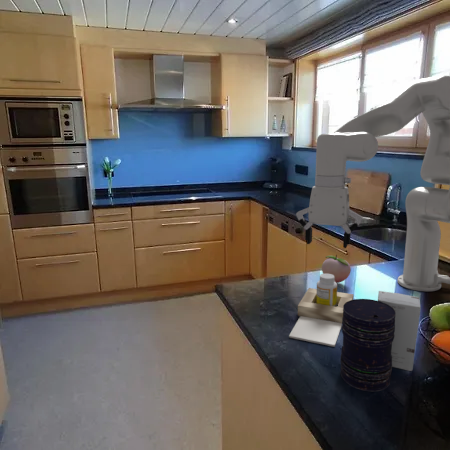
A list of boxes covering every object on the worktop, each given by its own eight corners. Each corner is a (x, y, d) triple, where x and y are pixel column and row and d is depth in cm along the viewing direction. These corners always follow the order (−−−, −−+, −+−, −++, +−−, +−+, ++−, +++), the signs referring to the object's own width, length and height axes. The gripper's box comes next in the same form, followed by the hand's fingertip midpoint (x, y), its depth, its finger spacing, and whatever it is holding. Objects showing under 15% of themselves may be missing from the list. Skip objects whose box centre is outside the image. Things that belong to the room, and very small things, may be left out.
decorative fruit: (315, 283, 124) (316, 254, 122) (329, 276, 130) (330, 249, 127) (340, 291, 117) (342, 261, 115) (354, 283, 123) (355, 255, 120)
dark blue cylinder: (332, 363, 81) (335, 300, 78) (376, 360, 82) (381, 297, 78) (351, 393, 71) (354, 323, 68) (400, 390, 72) (406, 319, 68)
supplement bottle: (332, 304, 109) (333, 271, 106) (339, 313, 103) (340, 278, 101) (313, 306, 108) (314, 273, 106) (320, 314, 103) (321, 280, 100)
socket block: (353, 303, 108) (353, 294, 108) (346, 324, 97) (347, 313, 96) (308, 296, 114) (309, 287, 113) (297, 315, 103) (297, 305, 102)
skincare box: (371, 363, 80) (375, 300, 77) (373, 349, 86) (377, 289, 82) (414, 372, 77) (421, 306, 73) (413, 356, 82) (419, 294, 79)
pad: (342, 325, 97) (342, 323, 97) (334, 346, 87) (334, 344, 87) (300, 317, 101) (300, 316, 101) (289, 337, 92) (289, 335, 92)
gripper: (366, 181, 97) (362, 244, 101) (300, 179, 104) (299, 238, 108) (363, 184, 90) (358, 252, 94) (293, 182, 97) (292, 245, 101)
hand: (327, 244), depth 101 cm, fingers open, 9 cm apart
